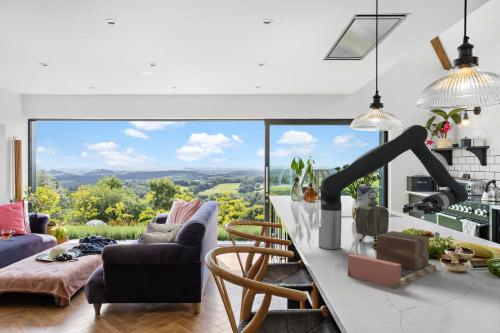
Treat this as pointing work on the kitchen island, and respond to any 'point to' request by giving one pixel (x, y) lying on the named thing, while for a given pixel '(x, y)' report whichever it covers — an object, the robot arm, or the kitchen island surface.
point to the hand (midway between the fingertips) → (414, 211)
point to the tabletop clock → (371, 219)
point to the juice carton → (365, 194)
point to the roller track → (384, 271)
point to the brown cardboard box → (403, 249)
